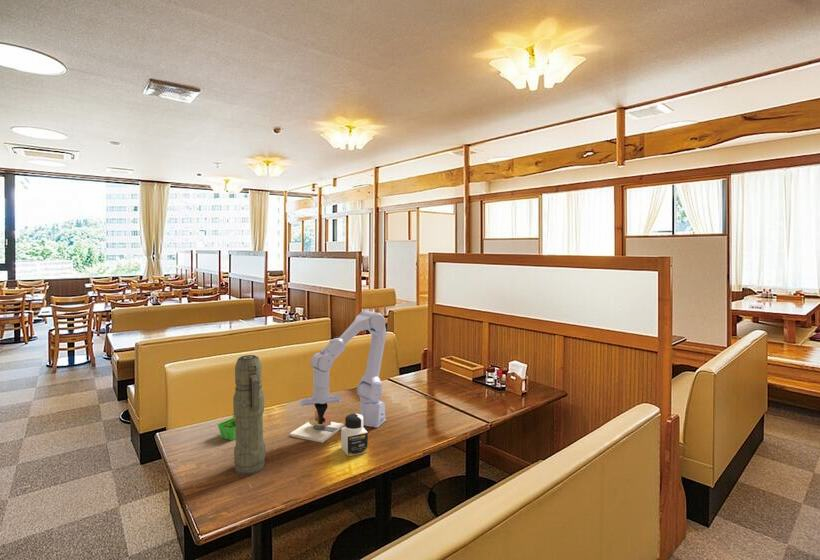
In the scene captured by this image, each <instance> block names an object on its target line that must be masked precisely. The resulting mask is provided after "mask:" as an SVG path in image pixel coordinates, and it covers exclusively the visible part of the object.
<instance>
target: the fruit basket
mask: <svg viewBox="0 0 820 560" xmlns="http://www.w3.org/2000/svg"><path fill="white" fill-rule="evenodd" d="M217 428H218V430H219V433H220V435H221V438H222V439H225V440H230V441H234V440H236V425H235V416H234V412H233V414H232V418H229V419H227V420H225V421H222V422H220V423H218V424H217Z"/></svg>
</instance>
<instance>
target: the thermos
mask: <svg viewBox="0 0 820 560" xmlns="http://www.w3.org/2000/svg"><path fill="white" fill-rule="evenodd" d="M262 371H263V370H262V363H261V360H260V358H259V356H256V355H253V354H247V355H241V356H240V357H237V360H236V363H235V366H234V383H235V389H234V390H235V391H234V394H233V399H232V403H233V408H232V409H233V413H234V416H235V425H236V439H235V446H234V449H233V462H234V471H235V473H236V474H237V473H238V475H240V476H251V475H253V474H254V473H255V474H257V473H260V472H261V471H262V470H263V469H264V468H265V466H266V465H265V459H266V445H265V442H264V426H263V425H264V423H263V422H264V421H263V420H264V417H263V415H264V411H265V393H264V391H263V388H262V386H263V385H262V381H263V378H262V375H263V373H262Z"/></svg>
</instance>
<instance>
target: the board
mask: <svg viewBox="0 0 820 560" xmlns="http://www.w3.org/2000/svg"><path fill="white" fill-rule="evenodd" d="M344 427H345V423H341V422H334V421H331V425H328V426H324V425H321V426H314V425H311V424H309V421H307V422H306V423H303V424H302V425H301V426H299V427H297V428H296V429H294V430H293V431H291V432H290V433H289V437H293V438H296V439H297V438H298V439H302V440H308V441H313V442H318V443H324V442H325V441H327V440H328V439H330V438H331V437H332V436H334V435H335V434H337V433H338V432H339V431H341V428H344Z"/></svg>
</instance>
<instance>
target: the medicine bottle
mask: <svg viewBox="0 0 820 560" xmlns="http://www.w3.org/2000/svg"><path fill="white" fill-rule="evenodd" d="M340 431H341V432H340V436H341V437H340V438H341V439H340V440H341V441H340V445H341V446H340V447H341V450H342V451H343V452H344V453H345V455H346V456H347V457H352V456H357V455H361V454H365V453H368V447H369V446H368V444H369V442H368V441H369V440H368V438H369V437H368V435H369V433H368V432H369V431H367V430H366V428H365V427H364V425H363V416H362V415H360V413H350V414H348V415H346V416H345V421H344V427H343V428H341V429H340Z"/></svg>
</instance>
